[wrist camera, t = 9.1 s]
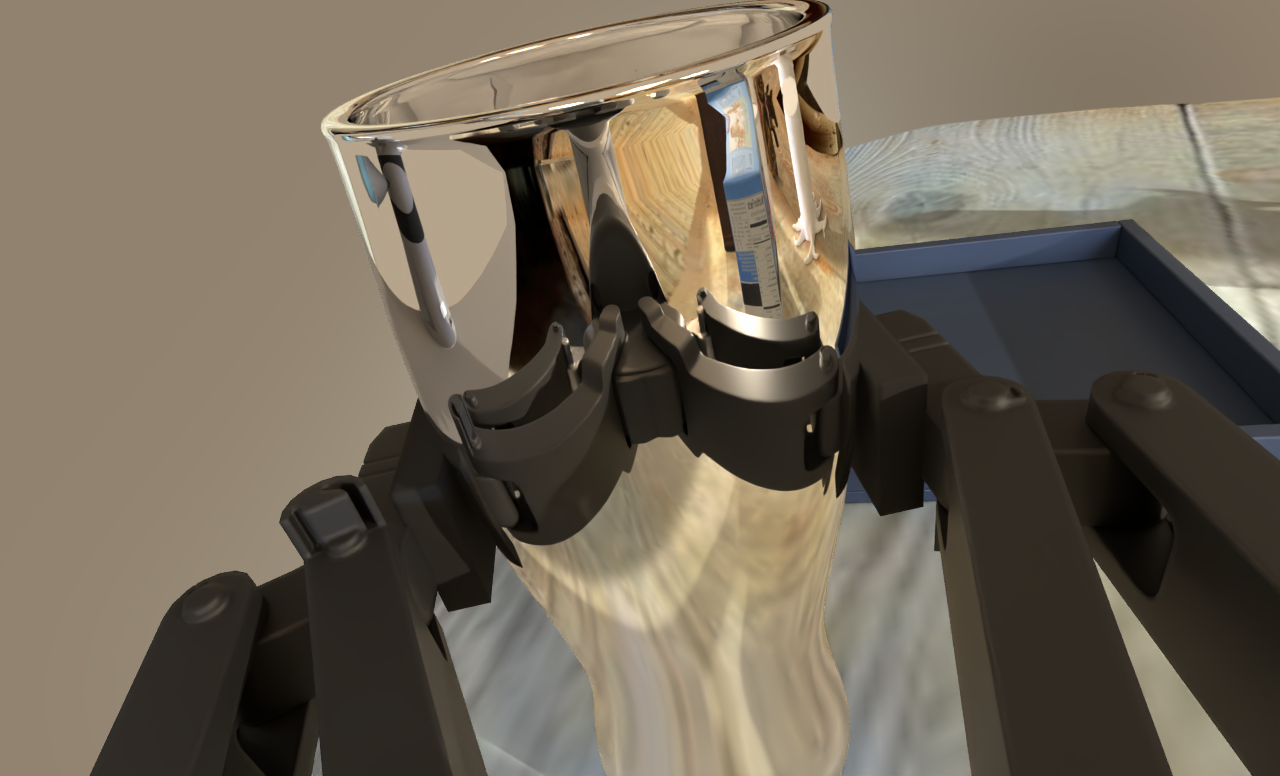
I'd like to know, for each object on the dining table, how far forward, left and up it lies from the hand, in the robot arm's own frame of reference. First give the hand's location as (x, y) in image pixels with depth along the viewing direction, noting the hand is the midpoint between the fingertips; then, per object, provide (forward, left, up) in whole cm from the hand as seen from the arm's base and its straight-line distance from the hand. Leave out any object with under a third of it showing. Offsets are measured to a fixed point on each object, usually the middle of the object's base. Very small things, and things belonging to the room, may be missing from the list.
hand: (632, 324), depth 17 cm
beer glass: (+1, -5, -9) cm, 10 cm away
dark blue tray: (+9, +10, -9) cm, 16 cm away
